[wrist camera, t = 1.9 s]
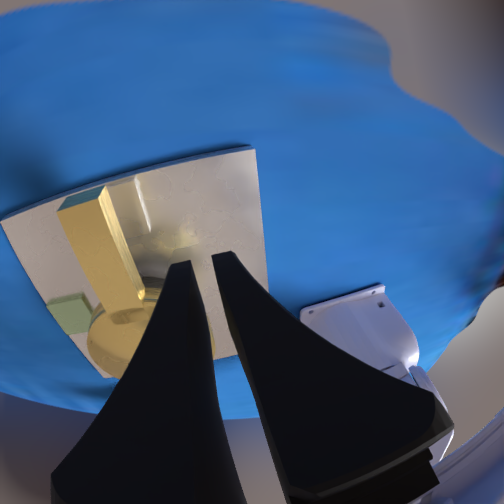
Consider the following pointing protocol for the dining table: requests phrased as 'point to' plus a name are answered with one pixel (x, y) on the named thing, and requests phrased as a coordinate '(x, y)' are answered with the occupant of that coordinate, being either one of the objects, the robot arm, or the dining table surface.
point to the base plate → (152, 235)
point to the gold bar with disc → (109, 279)
